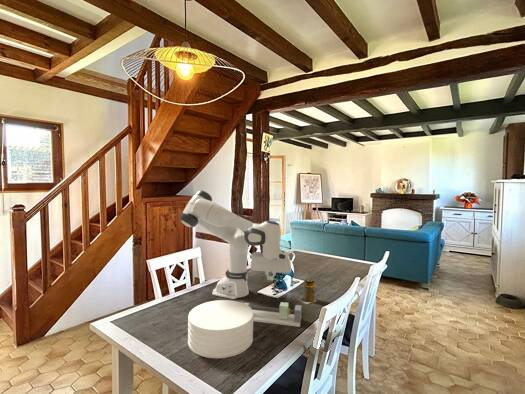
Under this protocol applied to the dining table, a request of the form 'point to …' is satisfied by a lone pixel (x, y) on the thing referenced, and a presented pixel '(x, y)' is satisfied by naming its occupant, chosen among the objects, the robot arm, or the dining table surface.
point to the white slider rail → (276, 315)
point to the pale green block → (283, 310)
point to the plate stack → (220, 328)
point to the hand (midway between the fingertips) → (270, 280)
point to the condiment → (308, 292)
